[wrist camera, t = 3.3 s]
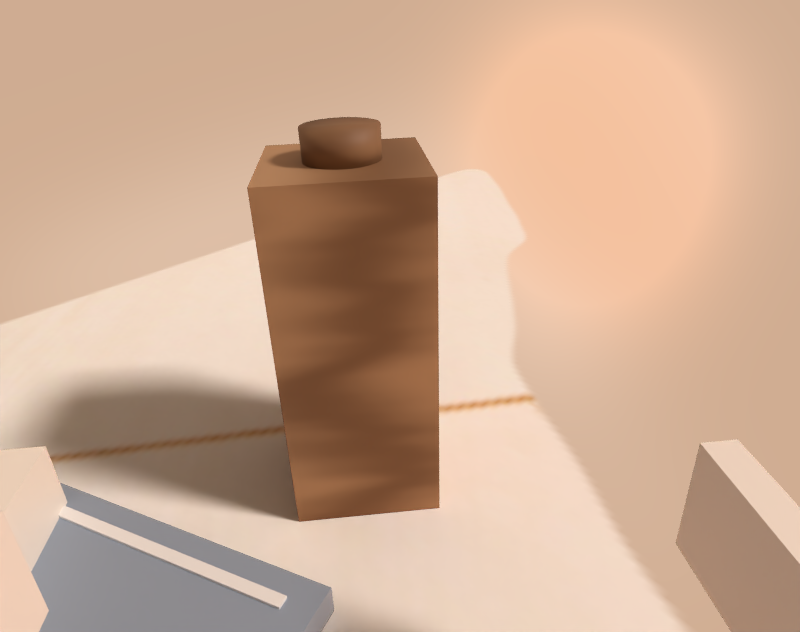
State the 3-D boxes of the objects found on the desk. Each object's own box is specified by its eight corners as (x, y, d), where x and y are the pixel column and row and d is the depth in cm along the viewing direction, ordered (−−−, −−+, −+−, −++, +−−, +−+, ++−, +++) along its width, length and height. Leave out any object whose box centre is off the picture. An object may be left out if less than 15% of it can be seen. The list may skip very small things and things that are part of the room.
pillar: (299, 521, 22) (241, 148, 15) (304, 432, 26) (261, 114, 20) (439, 507, 22) (437, 137, 16) (421, 421, 26) (414, 106, 20)
